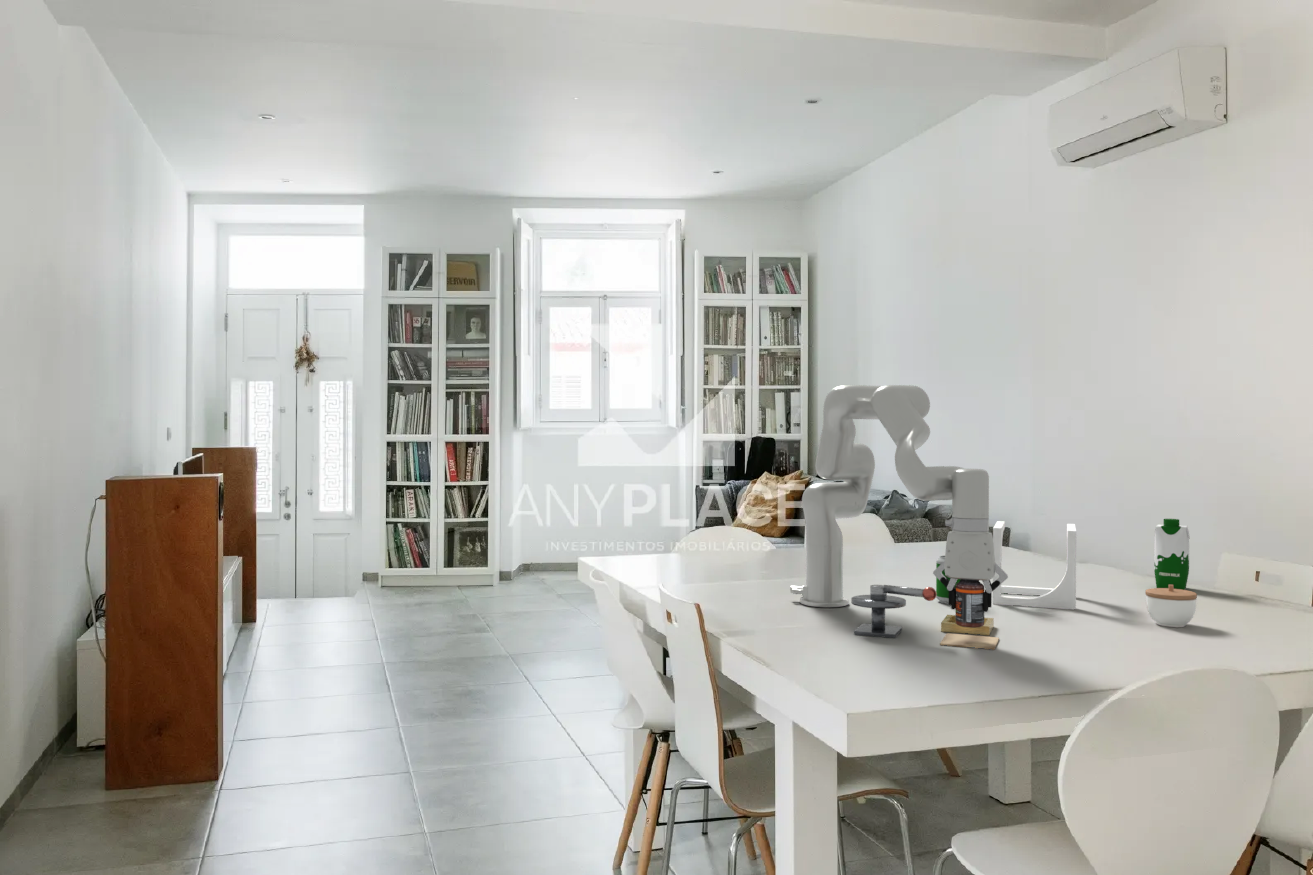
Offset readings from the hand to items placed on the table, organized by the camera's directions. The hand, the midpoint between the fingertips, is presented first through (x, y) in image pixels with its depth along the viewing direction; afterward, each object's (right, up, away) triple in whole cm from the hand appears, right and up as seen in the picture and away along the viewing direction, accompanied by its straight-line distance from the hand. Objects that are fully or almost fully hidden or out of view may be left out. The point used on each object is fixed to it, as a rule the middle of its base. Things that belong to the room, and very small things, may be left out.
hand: (969, 608), depth 212 cm
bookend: (+34, -7, +51) cm, 61 cm away
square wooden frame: (+4, -7, +14) cm, 16 cm away
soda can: (+10, -7, +48) cm, 50 cm away
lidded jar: (+53, -7, +19) cm, 57 cm away
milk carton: (+80, -7, +71) cm, 107 cm away
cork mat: (0, -7, 0) cm, 7 cm away
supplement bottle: (0, -4, 0) cm, 4 cm away
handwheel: (-15, -1, +8) cm, 16 cm away
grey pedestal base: (-17, -7, +10) cm, 21 cm away
